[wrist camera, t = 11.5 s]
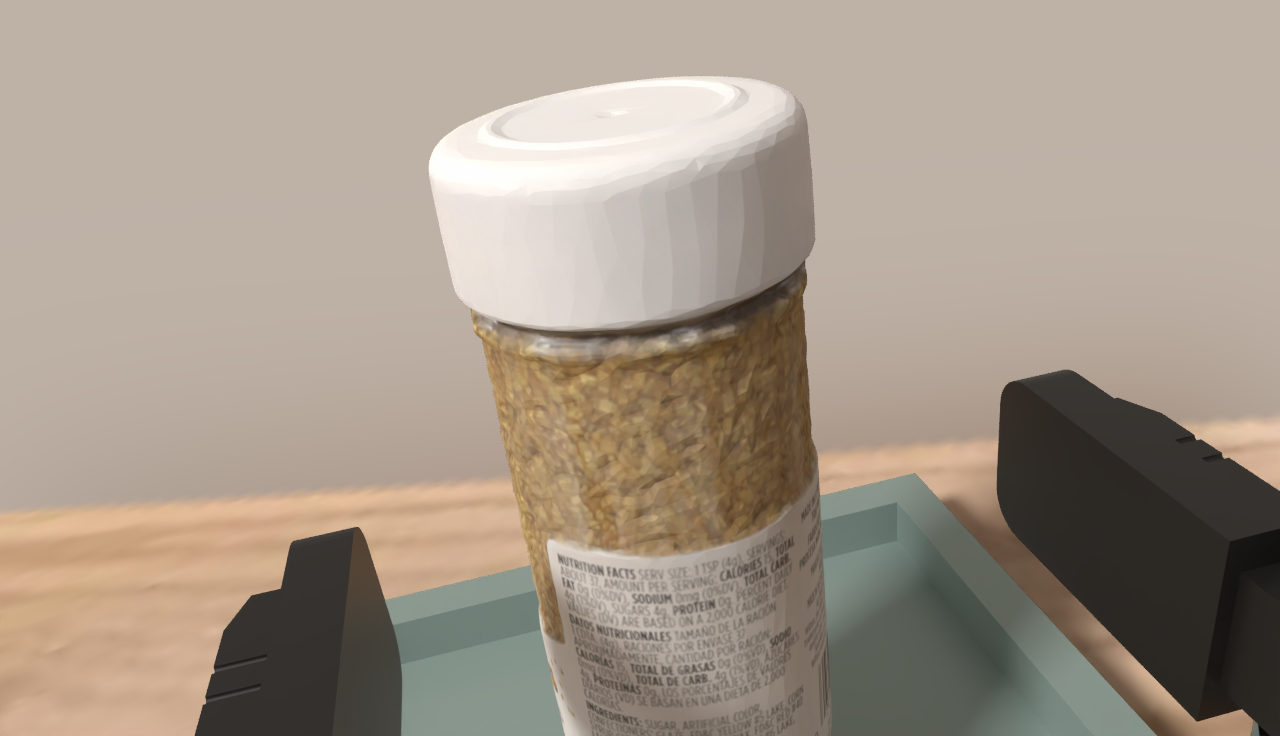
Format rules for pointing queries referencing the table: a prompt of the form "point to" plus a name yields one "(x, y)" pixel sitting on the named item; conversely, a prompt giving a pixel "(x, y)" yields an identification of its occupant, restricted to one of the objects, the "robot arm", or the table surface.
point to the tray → (856, 628)
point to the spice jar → (654, 393)
